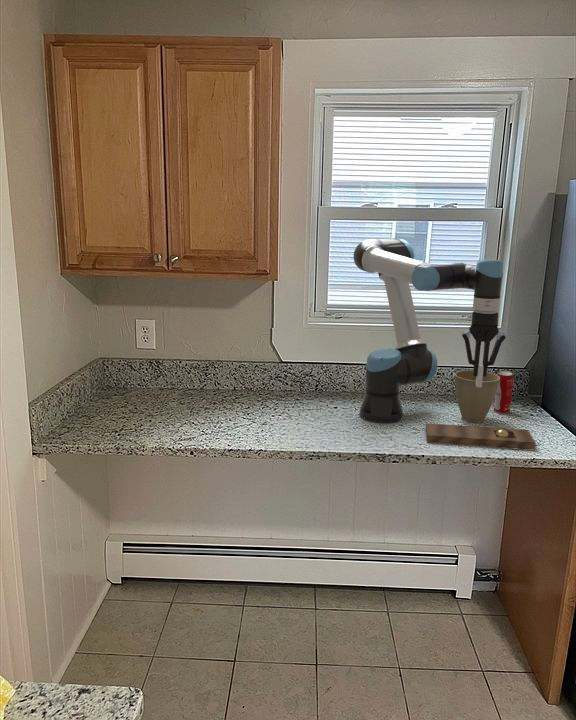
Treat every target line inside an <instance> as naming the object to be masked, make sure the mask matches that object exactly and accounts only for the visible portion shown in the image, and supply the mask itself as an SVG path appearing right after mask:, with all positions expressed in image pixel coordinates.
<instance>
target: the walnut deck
mask: <svg viewBox="0 0 576 720" xmlns="http://www.w3.org/2000/svg"><path fill="white" fill-rule="evenodd" d="M500 429H504V430H506V431H507V432H508V435H509V437H508V438H504V437H496V435H495V433H496V432H497V431H498V430H500ZM425 437H426V443H427V444H428V443H430V444H441V445H442V444H443V445H444V444H445V445H458V446H469V447H470V446H471V447H472V446H473V447H485V448H496V449H497V448H498V449H499V448H500V449H511V448H518V449H517V450H524V449H536V441H535V439H534V438H533V436H532V434H531V432H530V431H529V430H528V429H519V428H503V427H491V426H478V425H477V426H474V425H459V424H446V423H431V422H427V423H425Z"/></svg>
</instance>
